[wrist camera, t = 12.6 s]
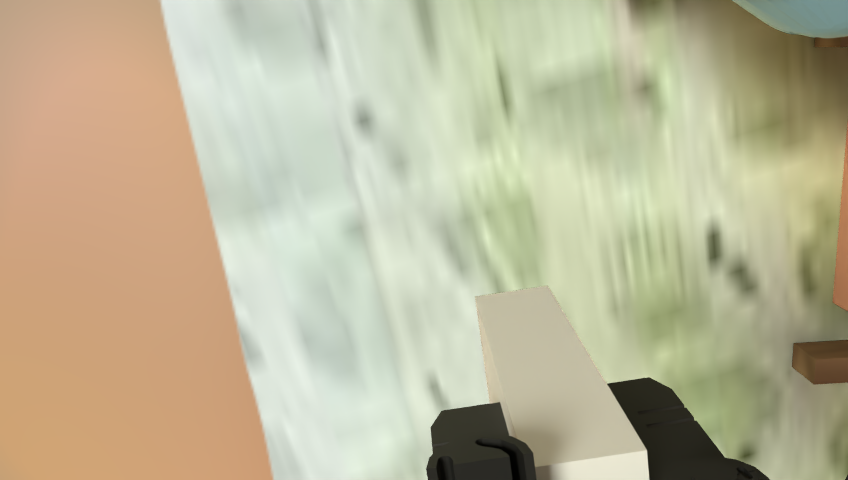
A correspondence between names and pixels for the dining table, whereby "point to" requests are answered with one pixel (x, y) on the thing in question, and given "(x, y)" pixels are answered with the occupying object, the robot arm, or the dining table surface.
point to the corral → (823, 357)
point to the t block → (842, 243)
